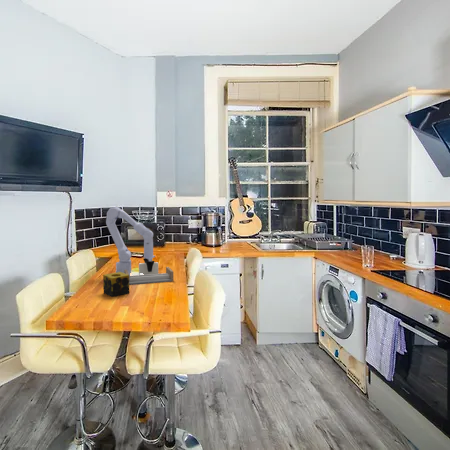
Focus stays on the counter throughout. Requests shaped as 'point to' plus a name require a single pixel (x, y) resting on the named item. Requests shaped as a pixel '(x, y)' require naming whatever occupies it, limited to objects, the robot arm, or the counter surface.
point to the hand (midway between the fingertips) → (148, 270)
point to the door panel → (144, 269)
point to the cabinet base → (151, 277)
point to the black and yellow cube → (116, 284)
